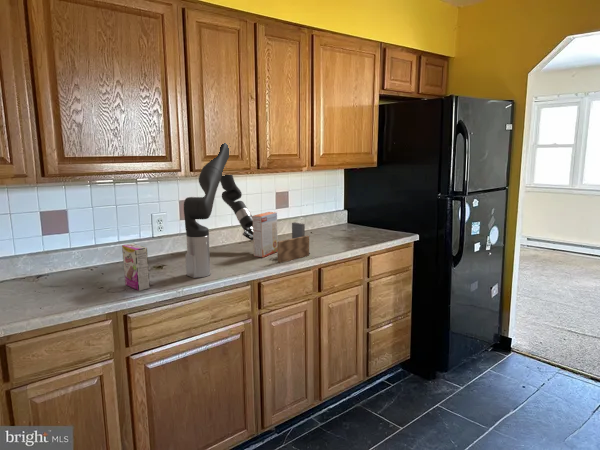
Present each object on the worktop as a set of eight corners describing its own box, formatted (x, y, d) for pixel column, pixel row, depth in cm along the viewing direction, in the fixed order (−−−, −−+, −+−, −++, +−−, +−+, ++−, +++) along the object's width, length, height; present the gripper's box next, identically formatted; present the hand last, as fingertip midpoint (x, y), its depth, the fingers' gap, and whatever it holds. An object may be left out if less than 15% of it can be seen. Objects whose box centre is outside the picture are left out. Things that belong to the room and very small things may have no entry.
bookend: (301, 256, 214) (301, 224, 211) (292, 253, 219) (291, 222, 216) (310, 253, 218) (310, 223, 216) (300, 251, 223) (300, 221, 220)
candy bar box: (124, 285, 169) (121, 245, 166) (136, 282, 173) (133, 242, 170) (138, 291, 162) (135, 249, 159) (150, 288, 165) (147, 247, 162)
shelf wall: (279, 262, 202) (279, 242, 200) (277, 262, 203) (277, 241, 201) (309, 255, 215) (309, 235, 214) (307, 254, 217) (307, 235, 215)
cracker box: (268, 250, 226) (268, 211, 222) (278, 252, 223) (277, 212, 219) (252, 256, 214) (251, 215, 210) (262, 257, 211) (262, 216, 207)
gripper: (238, 215, 219) (254, 242, 212) (258, 213, 228) (273, 239, 222) (232, 224, 223) (247, 251, 217) (252, 221, 233) (267, 247, 226)
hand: (260, 245), depth 219 cm, fingers closed
